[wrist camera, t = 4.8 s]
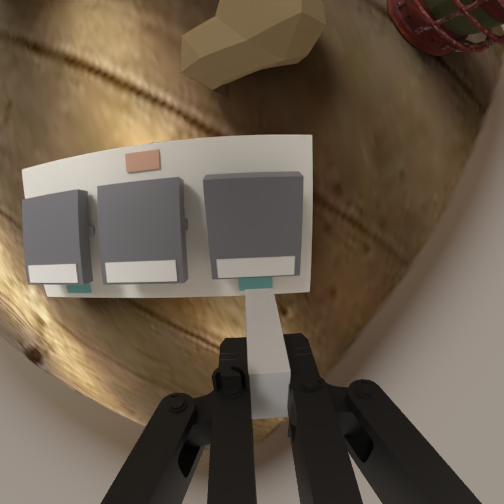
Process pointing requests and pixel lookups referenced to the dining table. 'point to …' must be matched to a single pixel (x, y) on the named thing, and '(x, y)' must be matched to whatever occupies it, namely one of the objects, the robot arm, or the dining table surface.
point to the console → (192, 172)
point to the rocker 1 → (57, 238)
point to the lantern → (447, 23)
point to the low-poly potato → (250, 39)
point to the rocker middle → (142, 232)
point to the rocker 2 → (254, 223)
